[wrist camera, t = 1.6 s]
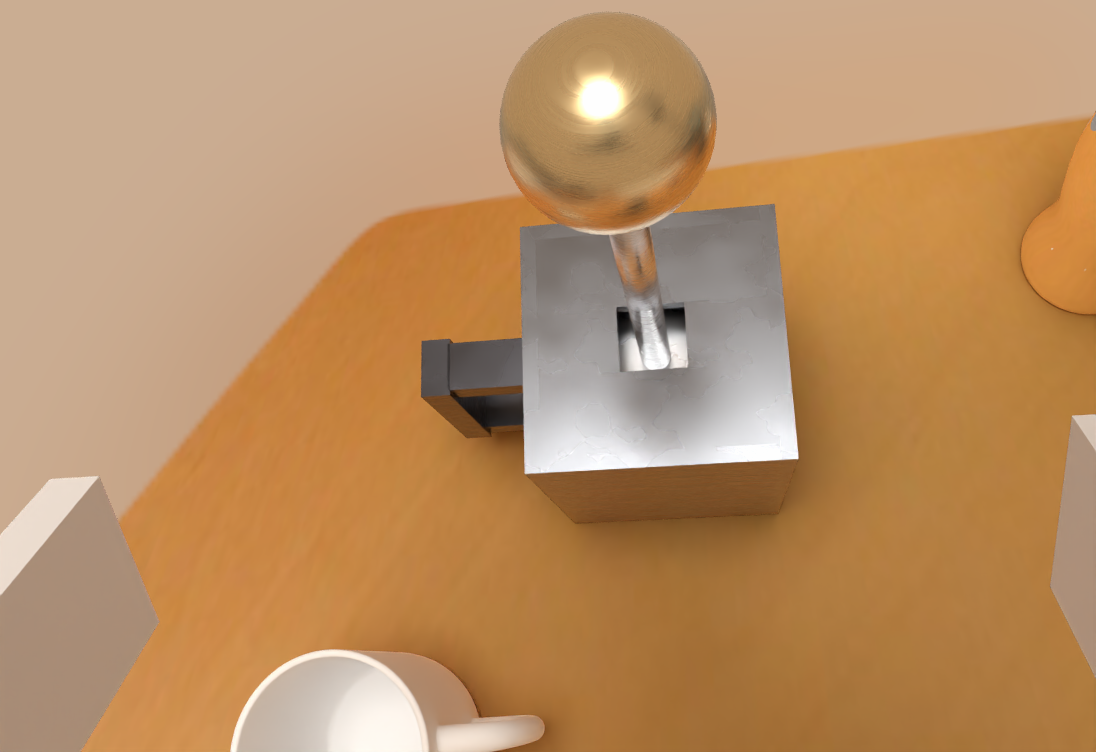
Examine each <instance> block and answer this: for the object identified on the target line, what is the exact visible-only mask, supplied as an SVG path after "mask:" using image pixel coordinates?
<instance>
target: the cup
mask: <svg viewBox="0 0 1096 752" xmlns="http://www.w3.org/2000/svg"><path fill="white" fill-rule="evenodd" d="M544 731H545V726H544V722H543V721H542V720H541V718H539V717H538V716H535V715H514V716H499V717H485V718H479V716H478V712H477V709H476V706H475V704H474V702H473V699H472V697H471V695H470V694H469V692H468V690H467V689H466V687H465V686H464V685H463V683H462V682H461V681H460V680H459V679H458V678H457V677H456V676H455V675H454V674H453V673H452V672H451V671H450V670H448V669H447V668H446V667H444V666H443V665H441V664H440V663H438V662H436V661H434V660H432V659H430V658H427V657H424V656H421V655H417V654H412V653H405V652H385V651H363V650H339V649H330V650H320V651H315V652H311V653H307V654H304V655H301V656H299V657H297V658H294V659H292V660H290V661H289V662H287V663H285V664H283V665H282V666H280V667H279V668H277V669H276V670H275V671H274V672H272V673H271V674H270V675H269V676H268V677H267V678H266V679H265V680H264V681H263V682H262V683H261V684H260V685H259V686H258V687H257V689H256V690H255V691H254V693H253V694H252V695H251V697H250V698H249V700H248V702H247V703H246V705H245V707H244V709H243V711H242V713H241V715H240V717H239V720H238V722H237V725H236V728H235V731H234V735H233V739H232V744H231V751H230V752H494V751H499V750H504V749H508V748H513V747H517V746H521V745H524V744H528V743H531V742H534V741H537V740H539V739H540V738H541V737H542V736H543V734H544Z"/></svg>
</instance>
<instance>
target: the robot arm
mask: <svg viewBox="0 0 1096 752" xmlns="http://www.w3.org/2000/svg"><path fill="white" fill-rule="evenodd" d="M1050 588H1051V590H1052V592H1053V594H1054V596H1055V598H1056V600H1057V602H1058V604H1059V606H1060V608H1061V610H1062V612H1063V614H1064V616H1065V618H1066V620H1067V622H1068V624H1069V626H1070V628H1071V630H1072V632H1073V634H1074V636H1075V638H1076V640H1077V642H1078V644H1079V646H1080V648H1081V650H1082V652H1083V654H1084V656H1085V658H1086V660H1087V662H1088V664H1089V666H1090V668H1091V670H1092V672H1093V674H1094V676H1095V678H1096V414H1093V415H1077V416H1072V420H1071V428H1070V436H1069V444H1068V451H1067V459H1066V467H1065V475H1064V482H1063V490H1062V498H1061V506H1060V514H1059V521H1058V529H1057V537H1056V545H1055V552H1054V560H1053V568H1052V576H1051V584H1050ZM158 623H159V620H158V617H157V615H156V612H155V610H154V608H153V605H152V603H151V600H150V598H149V595H148V593H147V591H146V588H145V586H144V583H143V581H142V579H141V576H140V574H139V571H138V569H137V566H136V564H135V562H134V559H133V557H132V554H131V552H130V549H129V547H128V545H127V542H126V540H125V537H124V535H123V532H122V530H121V528H120V525H119V523H118V520H117V518H116V516H115V513H114V511H113V508H112V506H111V503H110V501H109V499H108V496H107V494H106V491H105V489H104V486H103V484H102V482H101V479H100V477H99V476H93V477H77V478H61V479H50V480H49V481H48V482H47V483H46V484H45V486H44V487H43V488H42V489H41V490H40V491H39V492H38V493H37V494H36V496H35V497H34V498H33V499H32V500H31V501H30V502H29V503H28V505H27V506H26V507H25V508H24V509H23V510H22V511H21V512H20V513H19V515H18V516H17V517H16V518H15V519H14V520H13V521H12V523H11V524H10V525H9V526H8V527H7V528H6V529H5V530H4V531H3V532H2V534H1V535H0V752H81V750H82V749H83V747H84V745H85V744H86V742H87V740H88V739H89V737H90V736H91V734H92V732H93V731H94V729H95V727H96V726H97V724H98V722H99V721H100V719H101V717H102V716H103V714H104V712H105V711H106V709H107V707H108V706H109V704H110V702H111V701H112V699H113V698H114V696H115V694H116V693H117V691H118V689H119V688H120V686H121V684H122V683H123V681H124V679H125V678H126V676H127V674H128V673H129V671H130V669H131V668H132V666H133V665H134V663H135V661H136V660H137V658H138V656H139V655H140V653H141V651H142V650H143V648H144V646H145V645H146V643H147V641H148V640H149V638H150V636H151V635H152V633H153V632H154V630H155V628H156V627H157V625H158Z"/></svg>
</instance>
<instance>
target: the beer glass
mask: <svg viewBox="0 0 1096 752" xmlns="http://www.w3.org/2000/svg"><path fill="white" fill-rule="evenodd" d="M1021 263H1022V268H1023V271H1024V274H1025V276H1026V278H1027V280H1028V282H1029V283H1030V285H1031V286H1032V287H1033V289H1034V290H1035V291H1036V292H1037V293H1038V294H1039V295H1040V296H1041V297H1042V298H1044V299H1045V300H1046V301H1048V302H1049V303H1051V304H1052V305H1054V306H1056V307H1058V308H1060V309H1063V310H1066V311H1069V312H1073V313H1078V314H1096V112H1095V113H1094V114H1093V116H1092V118H1091V119H1090V121H1089V123H1088V124H1087V126H1086V128H1085V129H1084V131H1083V133H1082V134H1081V136H1080V138H1079V140H1078V142H1077V145H1076V147H1075V150H1074V152H1073V155H1072V157H1071V160H1070V163H1069V166H1068V169H1067V172H1066V176H1065V179H1064V183H1063V186H1062V190H1061V194H1060V197H1059V199H1058V201H1057V202H1055V203H1054V204H1052V205H1051V206H1049V207H1048V208H1046V209H1045V210H1044V211H1043V212H1041V213H1040V214H1039V215H1038V216H1037V217H1036V218H1035V219H1034V220H1033V222H1032V223H1031V224H1030V225H1029V227H1028V229H1027V230H1026V232H1025V235H1024V237H1023V240H1022V245H1021Z"/></svg>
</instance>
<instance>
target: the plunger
mask: <svg viewBox="0 0 1096 752" xmlns="http://www.w3.org/2000/svg"><path fill="white" fill-rule="evenodd" d="M716 120H717V118H716V108H715V101H714V95H713V92H712V89H711V86H710V83H709V80H708V78H707V76H706V74H705V71H704V69H703V67H702V65H701V64H700V62H699V61H698V59H697V58H696V56H695V55H694V54H693V52H692V51H691V50H690V49H689V48H688V47H687V45H686V44H685V43H684V42H683V41H682V40H681V39H679V38H678V37H677V36H676V35H675V34H673V33H672V32H670V31H669V30H668V29H666V28H664V27H663V26H661V25H659V24H658V23H656V22H653V21H651V20H649V19H646V18H643V17H640V16H637V15H633V14H627V13H620V12H619V13H618V12H598V13H592V14H586V15H583V16H579V17H576V18H573V19H570V20H568V21H565V22H563V23H561V24H559V25H558V26H556V27H554V28H552V29H551V30H550V31H548V32H547V33H546V34H544V35H543V36H541V37H540V38H539V39H538V40H537V41H536V42H534V43H533V44H532V45H531V46H530V48H529V49H528V50H527V51H526V52H525V53H524V54H523V56H522V58H521V59H520V61H519V62H518V64H517V65H516V67H515V69H514V70H513V72H512V74H511V76H510V78H509V80H508V83H507V86H506V89H505V91H504V96H503V100H502V105H501V109H500V140H501V146H502V150H503V154H504V158H505V161H506V164H507V167H508V169H509V172H510V174H511V176H512V177H513V179H514V181H515V183H516V184H517V186H518V188H519V189H520V191H521V192H522V193H523V195H524V196H525V197H526V198H527V200H528V201H530V202H531V203H532V204H533V205H534V206H535V207H536V208H537V209H538V210H539V211H540V212H541V213H543V214H544V215H546V216H547V217H548V218H550V219H551V220H553V221H555V222H557V223H559V224H561V225H563V226H565V227H568V228H571V229H573V230H576V231H580V232H584V233H588V234H597V235H609V237H610V241H611V245H612V249H613V253H614V257H615V260H616V264H617V268H618V272H619V276H620V280H621V283H622V287H623V291H624V295H625V299H626V303H627V307H628V310H629V311H627V312H618V331H619V353H620V372H626V371H640V370H655V369H669V368H684V367H688V354H687V339H686V324H685V308H684V307H679V308H666V309H663V304H662V298H661V291H660V285H659V279H658V273H657V267H656V260H655V254H654V248H653V242H652V236H651V230H650V226H651V225H653V224H655V223H657V222H658V221H660V220H662V219H664V218H665V217H667V216H668V215H669V214H671V213H672V212H674V211H675V210H676V209H677V208H678V207H679V206H680V205H681V204H682V203H683V202H684V201H685V200H686V199H687V198H688V197H689V196H690V195H691V193H692V192H693V191H694V190H695V189H696V187H697V185H698V184H699V182H700V181H701V179H702V177H703V175H704V173H705V171H706V168H707V166H708V164H709V162H710V159H711V156H712V152H713V149H714V143H715V136H716V127H717V126H716V125H717V121H716Z"/></svg>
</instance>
